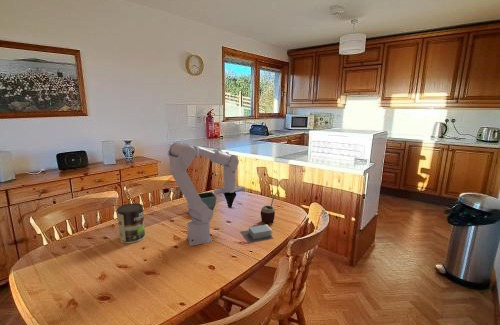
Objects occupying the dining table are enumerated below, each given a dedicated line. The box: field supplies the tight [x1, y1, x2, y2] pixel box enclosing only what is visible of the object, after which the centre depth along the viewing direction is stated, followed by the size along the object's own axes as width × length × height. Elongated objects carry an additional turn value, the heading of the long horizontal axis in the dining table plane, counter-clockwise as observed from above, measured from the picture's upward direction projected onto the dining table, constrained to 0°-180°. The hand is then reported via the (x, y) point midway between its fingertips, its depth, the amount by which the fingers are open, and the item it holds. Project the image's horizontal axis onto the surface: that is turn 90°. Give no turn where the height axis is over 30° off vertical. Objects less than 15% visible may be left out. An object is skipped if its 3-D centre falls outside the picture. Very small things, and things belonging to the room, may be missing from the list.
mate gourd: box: [260, 192, 278, 225], centre depth 129 cm, size 8×8×15 cm
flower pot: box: [198, 191, 217, 212], centre depth 143 cm, size 9×9×9 cm
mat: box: [239, 229, 275, 244], centre depth 117 cm, size 12×11×1 cm
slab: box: [248, 223, 273, 239], centre depth 117 cm, size 3×6×9 cm
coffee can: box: [116, 202, 146, 244], centre depth 112 cm, size 10×10×14 cm
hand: (229, 207), depth 122 cm, fingers closed
